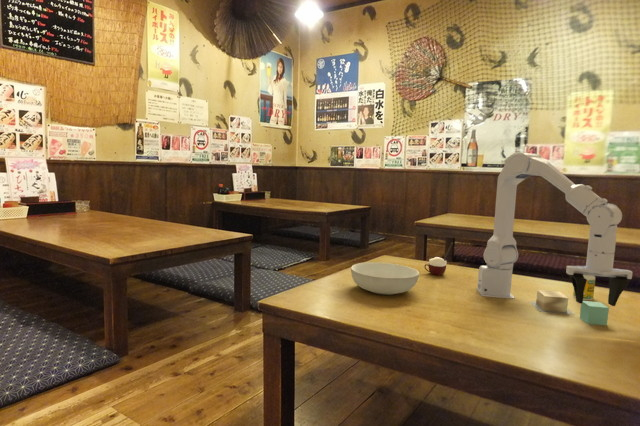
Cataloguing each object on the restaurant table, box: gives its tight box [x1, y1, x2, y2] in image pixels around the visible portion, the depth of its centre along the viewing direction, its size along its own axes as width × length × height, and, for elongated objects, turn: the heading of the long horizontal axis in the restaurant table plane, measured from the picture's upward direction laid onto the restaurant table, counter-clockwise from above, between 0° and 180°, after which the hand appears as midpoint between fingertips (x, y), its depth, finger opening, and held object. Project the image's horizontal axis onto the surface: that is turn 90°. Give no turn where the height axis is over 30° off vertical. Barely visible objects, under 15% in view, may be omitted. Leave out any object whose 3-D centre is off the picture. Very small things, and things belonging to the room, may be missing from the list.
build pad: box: [528, 300, 576, 316], centre depth 118 cm, size 9×9×1 cm
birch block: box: [535, 289, 569, 312], centre depth 118 cm, size 6×6×4 cm
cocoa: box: [423, 242, 454, 276], centre depth 152 cm, size 10×6×12 cm, turn 58°
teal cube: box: [579, 300, 610, 326], centre depth 108 cm, size 4×4×5 cm
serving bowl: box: [350, 261, 420, 296], centre depth 130 cm, size 21×21×7 cm
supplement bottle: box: [572, 275, 596, 301], centre depth 129 cm, size 5×5×10 cm
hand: (595, 303), depth 107 cm, fingers open, 7 cm apart
